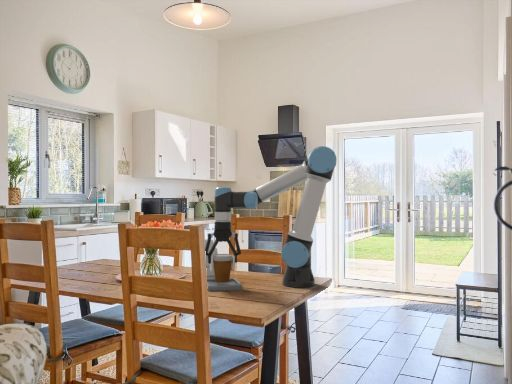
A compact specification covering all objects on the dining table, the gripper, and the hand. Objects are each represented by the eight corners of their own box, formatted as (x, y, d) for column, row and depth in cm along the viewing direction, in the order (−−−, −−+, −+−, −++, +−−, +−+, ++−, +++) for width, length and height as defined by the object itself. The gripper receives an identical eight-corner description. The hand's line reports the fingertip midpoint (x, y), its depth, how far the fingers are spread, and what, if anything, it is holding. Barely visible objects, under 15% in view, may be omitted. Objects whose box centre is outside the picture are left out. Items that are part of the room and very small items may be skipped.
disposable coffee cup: (228, 284, 194) (228, 257, 194) (208, 282, 197) (208, 256, 197) (235, 280, 203) (236, 254, 203) (216, 279, 206) (217, 253, 206)
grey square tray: (235, 283, 209) (235, 278, 209) (241, 289, 195) (241, 284, 195) (203, 284, 206) (203, 279, 206) (208, 291, 191) (208, 285, 191)
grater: (199, 282, 210) (199, 240, 211) (196, 278, 220) (196, 238, 221) (220, 281, 213) (220, 240, 213) (216, 277, 223) (217, 238, 223)
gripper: (244, 220, 207) (244, 268, 207) (197, 220, 202) (197, 269, 201) (248, 221, 200) (247, 270, 199) (199, 221, 194) (199, 272, 194)
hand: (222, 270), depth 200 cm, fingers closed on disposable coffee cup, 9 cm apart
